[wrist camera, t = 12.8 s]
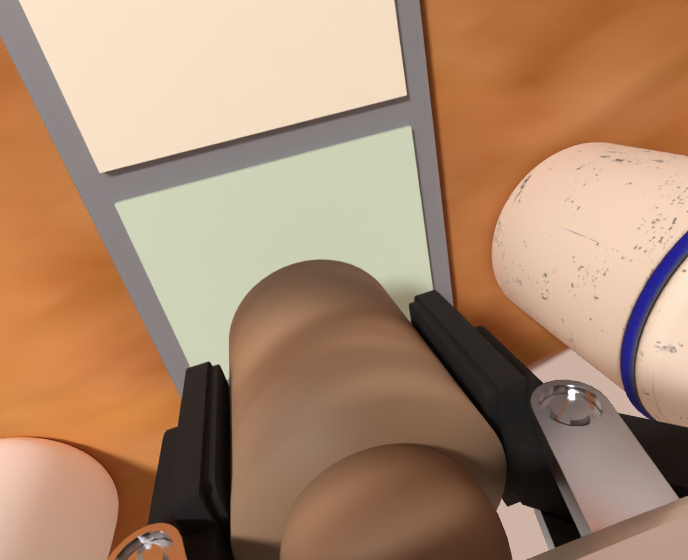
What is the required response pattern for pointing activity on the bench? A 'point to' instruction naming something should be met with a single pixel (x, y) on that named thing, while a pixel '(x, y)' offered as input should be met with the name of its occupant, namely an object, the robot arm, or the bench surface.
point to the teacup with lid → (606, 265)
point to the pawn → (352, 430)
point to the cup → (54, 502)
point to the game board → (239, 147)
